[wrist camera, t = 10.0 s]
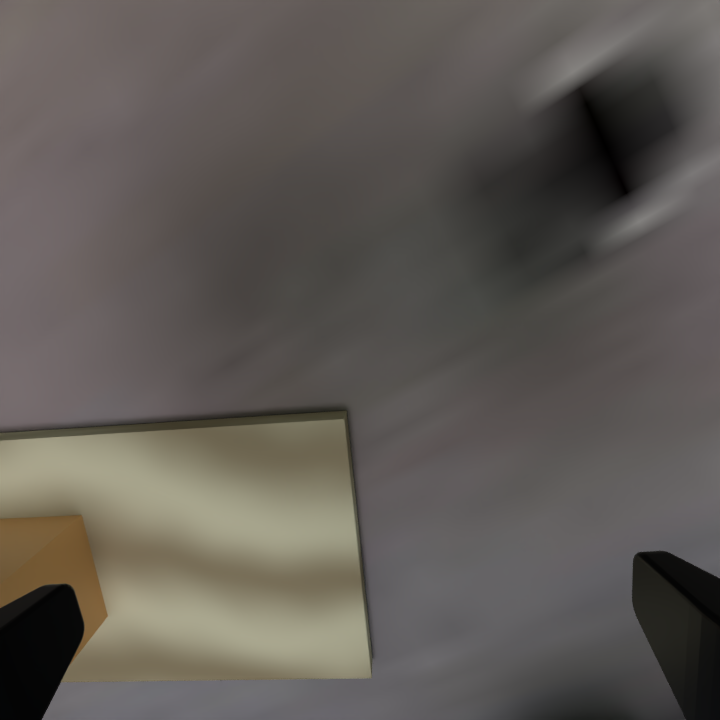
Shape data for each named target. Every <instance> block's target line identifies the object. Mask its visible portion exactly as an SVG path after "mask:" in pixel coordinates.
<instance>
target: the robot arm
mask: <svg viewBox="0 0 720 720" xmlns="http://www.w3.org/2000/svg"><path fill="white" fill-rule="evenodd" d="M632 602H633V607H634V611H635V614H636V617H637V619H638V621H639V623H640V625H641V627H642V629H643V631H644V633H645V635H646V638H647V640H648V642H649V644H650V646H651V648H652V650H653V652H654V654H655V656H656V658H657V660H658V662H659V664H660V667H661V669H662V671H663V673H664V675H665V677H666V679H667V681H668V683H669V685H670V687H671V689H672V691H673V693H674V696H675V698H676V700H677V702H678V704H679V706H680V708H681V710H682V712H683V714H684V716H685V718H686V720H720V578H718V577H716V576H714V575H712V574H710V573H708V572H706V571H704V570H702V569H700V568H698V567H696V566H694V565H692V564H690V563H688V562H686V561H684V560H683V559H681V558H679V557H677V556H675V555H673V554H671V553H668V552H665V551H650V552H639V553H637V554H636V555H635V556H634V559H633V582H632ZM84 630H85V624H84V620H83V616H82V613H81V610H80V606H79V603H78V600H77V597H76V593H75V590H74V588H73V587H72V586H71V585H69V584H66V583H63V584H47V585H43V586H41V587H39V588H37V589H35V590H33V591H31V592H29V593H27V594H25V595H24V596H22V597H20V598H18V599H16V600H14V601H12V602H10V603H9V604H7V605H5V606H3V607H1V608H0V720H42V718H43V716H44V714H45V712H46V710H47V708H48V706H49V704H50V702H51V700H52V698H53V696H54V694H55V692H56V691H57V689H58V687H59V685H60V683H61V681H62V679H63V677H64V675H65V673H66V671H67V669H68V667H69V665H70V663H71V661H72V659H73V657H74V655H75V653H76V651H77V649H78V647H79V645H80V643H81V641H82V639H83V635H84Z"/></svg>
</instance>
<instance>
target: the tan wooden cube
mask: <svg viewBox="0 0 720 720" xmlns="http://www.w3.org/2000/svg"><path fill="white" fill-rule="evenodd" d="M63 583H66V584H69V585H71V586H72V587H73V588H74V590H75V593H76V597H77V600H78V603H79V606H80V610H81V613H82V616H83V620H84V624H85V630H84V635H83V639H82V641H81V643H80V645H79V647H78V649H77V651H76V653H75V655H74V657H73V659H72V661H71V663H72V662H73V660H74V659H75V658H76V657H77V655H78V654H79V653H80V651H81V650H82V649H83V648H84V646H85V645H86V644H87V643H88V641H89V640H90V639H91V637H92V636H93V635H94V634H95V632H96V631H97V630H98V628H99V627H100V626H101V625H102V623H103V622H104V621H105V619H106V618H107V617H108V615H107V611H106V607H105V603H104V599H103V595H102V591H101V587H100V584H99V580H98V576H97V572H96V568H95V564H94V560H93V556H92V552H91V549H90V545H89V541H88V537H87V533H86V529H85V525H84V521H83V517H82V515H73V516H51V517H28V518H6V519H0V608H1V607H3V606H5V605H7V604H9V603H10V602H12V601H14V600H16V599H18V598H20V597H22V596H24V595H25V594H27V593H29V592H31V591H33V590H35V589H37V588H39V587H41V586H43V585H47V584H63ZM71 663H70V664H71ZM69 666H70V665H69Z"/></svg>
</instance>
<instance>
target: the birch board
mask: <svg viewBox="0 0 720 720" xmlns="http://www.w3.org/2000/svg"><path fill="white" fill-rule="evenodd" d="M73 515H82V517H83V521H84V525H85V529H86V533H87V537H88V541H89V545H90V549H91V552H92V556H93V560H94V564H95V568H96V572H97V576H98V580H99V584H100V587H101V591H102V595H103V599H104V603H105V607H106V611H107V615H108V617H107V618H106V619H105V621H104V622H103V623H102V625H101V626H100V627H99V628H98V630H97V631H96V632H95V634H94V635H93V636H92V637H91V639H90V640H89V641H88V643H87V644H86V645H85V646H84V648H83V649H82V650H81V651H80V653H79V654H78V655H77V657H76V658H75V659H74V660H73V662H72V663H71V664H70V666H69V667H68V669H67V671H66V673H65V675H64V677H63V679H62V681H61V682H114V681H192V680H271V679H349V678H372V651H371V641H370V632H369V622H368V612H367V603H366V593H365V584H364V574H363V564H362V555H361V545H360V535H359V526H358V516H357V506H356V497H355V487H354V478H353V468H352V458H351V449H350V439H349V429H348V420H347V411H333V412H318V413H302V414H287V415H271V416H256V417H240V418H225V419H209V420H194V421H178V422H163V423H147V424H132V425H116V426H101V427H85V428H70V429H54V430H39V431H23V432H8V433H0V519H6V518H28V517H51V516H73Z"/></svg>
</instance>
